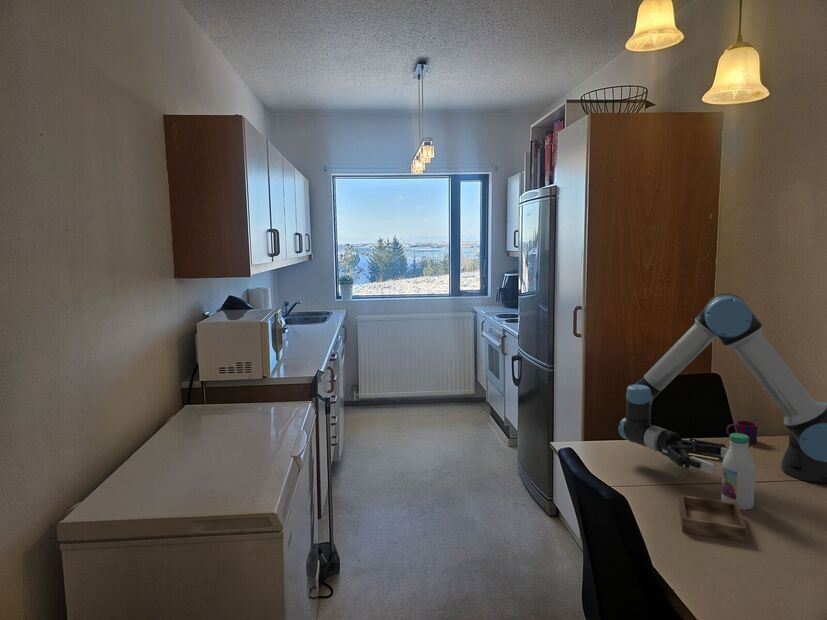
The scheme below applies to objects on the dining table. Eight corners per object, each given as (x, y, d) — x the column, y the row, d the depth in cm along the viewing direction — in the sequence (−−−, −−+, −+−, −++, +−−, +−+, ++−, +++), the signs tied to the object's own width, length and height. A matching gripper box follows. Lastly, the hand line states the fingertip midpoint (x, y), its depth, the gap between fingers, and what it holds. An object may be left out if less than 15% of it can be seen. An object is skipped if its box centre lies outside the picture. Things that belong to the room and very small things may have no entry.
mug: (759, 445, 186) (760, 426, 185) (728, 443, 189) (729, 425, 188) (752, 438, 193) (753, 420, 192) (722, 437, 195) (723, 419, 194)
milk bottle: (749, 499, 147) (751, 431, 145) (757, 512, 139) (759, 441, 137) (718, 496, 149) (720, 429, 147) (724, 509, 142) (726, 439, 140)
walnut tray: (737, 515, 138) (737, 502, 138) (746, 542, 126) (747, 528, 125) (678, 506, 144) (679, 494, 144) (682, 531, 131) (682, 518, 131)
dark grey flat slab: (731, 445, 183) (725, 460, 171) (731, 450, 183) (725, 465, 172) (669, 435, 196) (660, 447, 184) (669, 440, 196) (660, 452, 184)
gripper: (689, 444, 170) (755, 467, 151) (635, 460, 159) (699, 486, 140) (689, 422, 169) (756, 442, 150) (635, 436, 159) (699, 460, 139)
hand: (728, 464), depth 145 cm, fingers open, 13 cm apart
